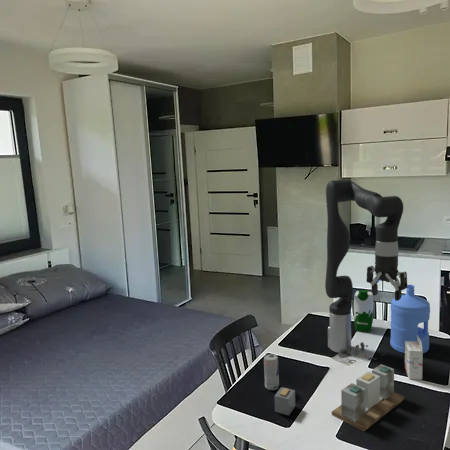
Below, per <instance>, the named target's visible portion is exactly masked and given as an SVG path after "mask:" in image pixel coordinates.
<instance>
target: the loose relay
mask: <svg viewBox="0 0 450 450" xmlns="http://www.w3.org/2000/svg"><path fill="white" fill-rule="evenodd" d="M273 398H274V412H275V413H278V414H282V415H286V416H290V415H291V413H292V412H293V410H294V409H295V408H296V390H295V389H290V388H288V387H283V386H281V387H280V388H278V390H277V392H276V393H275V395H274V397H273Z"/></svg>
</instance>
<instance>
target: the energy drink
mask: <svg viewBox="0 0 450 450" xmlns="http://www.w3.org/2000/svg"><path fill="white" fill-rule="evenodd" d="M263 369H264V370H263V372H264V387H265V389H266V390H268V391H276V390H279V389H280V388H279V387H280V378H279V377H280V376H279V375H280V374H279V373H280V372H279V358H278V355H276V354H274V353H267V354H265V355H264V357H263Z"/></svg>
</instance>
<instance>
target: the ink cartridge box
mask: <svg viewBox="0 0 450 450" xmlns="http://www.w3.org/2000/svg"><path fill="white" fill-rule="evenodd" d="M419 342H420V343H419ZM423 355H424V353H423V350H422V342H421V341H420V339H419V337H418V335H417V342H413V341H405V353H404V370H405V373H406V375H407V377H408V379H409V380H419V381H421V380H423V358H424V357H423Z"/></svg>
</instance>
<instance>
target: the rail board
mask: <svg viewBox="0 0 450 450" xmlns="http://www.w3.org/2000/svg"><path fill="white" fill-rule="evenodd" d="M371 373H373V374H376V375H378V376H380V401H379V402H377V403H376V404H375V405H373V406H372V407H371V408H369V409H367V408H366V389H365V388H362V387H360V386H358V385H356V384H355V383H350V384H348V385H346V386H345V387H344V388H342V389H341V391H340V392H341V393H340V395H341V401H340V402H341V404H340V405H339V406H338V407H336V408H335V409H333V410H332V411H331V416H333V417H335V418H337V419H339V420H341V421H342V422H345V423H347V424H349V425H350V426H353V427H354V428H356V429H358V430H360V431H362V432H365V431H367V429H369V428H370V427H372V426H373V425H374V424H375V423H376V422H378V421H379V420H380V419H381V418H382V417H384V416H386V415H387V413H389V412H390V411H391V410H393V409H394V408H396V406H398V405H399V404H401V403H402V402H403V401H404V400H405V396H404V395H401V394H400V393H398V392H395V368H392V367H390V366H387V365H384V364H379V365H377V366H376V367H374V368H373V369H372V370H371Z"/></svg>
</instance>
